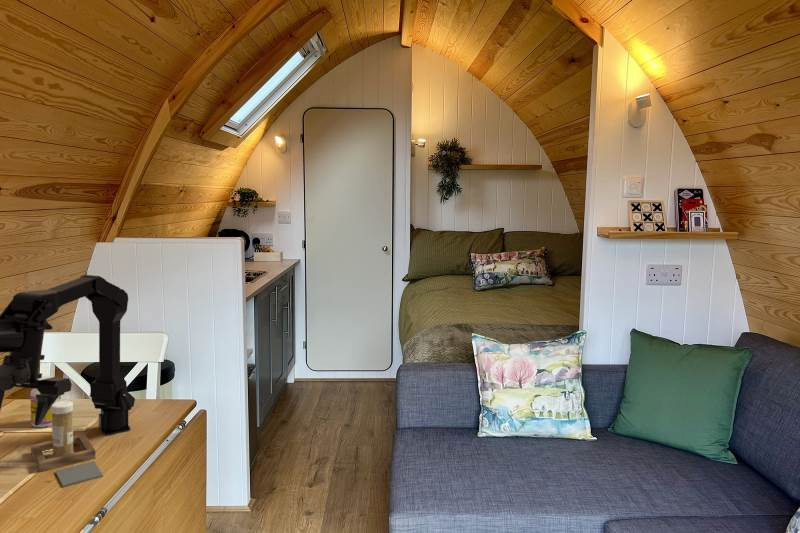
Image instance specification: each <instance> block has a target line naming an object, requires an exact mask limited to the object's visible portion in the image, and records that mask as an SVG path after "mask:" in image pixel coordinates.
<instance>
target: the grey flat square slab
mask: <svg viewBox="0 0 800 533" xmlns="http://www.w3.org/2000/svg"><path fill="white" fill-rule="evenodd" d="M55 474H56V476H57V478H58V480H59V483H60V484H61V486H62V488H65V487H68V486H73V485H77V484H79V483H80V482H81V483H85V482H87V481H91V479H92V480H96V479H99V478H102V476H103V477H104V474H103V473H102V471H101V470H100V468H99V467H98V465H97V464H96V462H95V461H94V460H93V461H89V462H86V463H82V464H77V465H73V466H70V467H65V468H61V469H58V470H55ZM98 477H99V478H98ZM81 483H80V484H81Z"/></svg>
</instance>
